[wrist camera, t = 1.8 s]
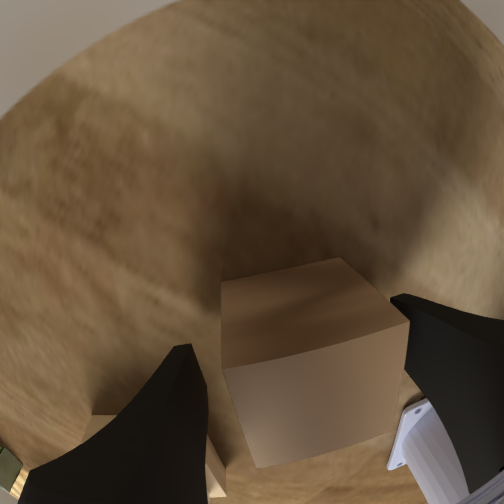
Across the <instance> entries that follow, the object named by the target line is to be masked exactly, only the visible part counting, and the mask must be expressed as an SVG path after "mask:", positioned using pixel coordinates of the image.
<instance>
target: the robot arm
mask: <svg viewBox="0 0 504 504" xmlns="http://www.w3.org/2000/svg"><path fill="white" fill-rule="evenodd" d="M390 303H391V304H392V305H394V306H395V307H396V308H397V309H398V310H399V311H400V312H401V313H402V314H403V315H404V316H405V317H406V318H407V319H408V320H409V321H410V326H409V335H408V344H407V351H406V359H405V365H404V369H405V371H406V372H407V373H408V375H409V376H410V377H411V378H412V380H413V381H414V382H415V383H416V385H417V386H418V387H419V389H420V390H421V391H422V393H423V394H424V395H425V396H426V398H425V399H423V400H421V401H419V402H416V403H414V404H412V405H410V406H408V407H407V408H405V409H404V411H403V413H402V416H401V420H400V424H399V427H398V431H397V435H396V438H395V442H394V445H393V448H392V452H391V455H390V458H389V461H388V464H387V468H388V470H393V469H395V468H398V467H400V466H402V465H404V464H407V465H408V466H409V468H410V470H411V472H412V474H413V476H414V477H415V479H416V481H417V483H418V485H419V487H420V488H421V490H422V492H423V494H424V496H425V498H426V500H427V502H428V503H429V504H504V320H499V319H494V318H488V317H483V316H479V315H475V314H471V313H467V312H464V311H460V310H457V309H454V308H451V307H447V306H444V305H441V304H438V303H435V302H432V301H429V300H426V299H423V298H420V297H417V296H413V295H410V294H405V293H403V294H400V295H397V296H393V297H390ZM207 427H208V396H207V385H206V383H205V380H204V378H203V375H202V372H201V369H200V367H199V364H198V361H197V358H196V356H195V353H194V350H193V347H192V344H191V343H190V344H184V345H178V346H174V347H173V348H172V350H171V351H170V352H169V354H168V355H167V356H166V358H165V359H164V361H163V362H162V363H161V365H160V366H159V367H158V369H157V370H156V371H155V373H154V374H153V375H152V377H151V378H150V379H149V381H148V382H147V383H146V384H145V385H144V387H143V388H142V389H141V390H140V391H139V392H138V394H137V395H136V396H135V397H134V398H133V400H132V401H131V402H130V403H129V404H128V405H127V406H126V407H125V408H124V409H123V410H122V411H121V412H120V413H119V414H118V415H117V416H116V417H115V418H114V419H113V420H112V421H110V422H109V423H108V424H107V425H106V426H104V427H103V428H102V429H101V430H99V431H98V432H97V433H96V434H94V435H93V436H92V437H90V438H89V439H88V440H86V441H85V442H83V443H82V444H80V445H79V446H77V447H76V448H74V449H73V450H71V451H69V452H67V453H66V454H64V455H62V456H60V457H59V458H57V459H55V460H52V461H50V462H48V463H46V464H44V465H42V466H39V467H37V468H35V469H32V470H30V472H29V474H28V477H27V479H26V482H25V485H24V487H23V490H22V492H21V495H20V498H19V501H18V504H208V497H207V486H206V474H205V460H206V443H207Z"/></svg>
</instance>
